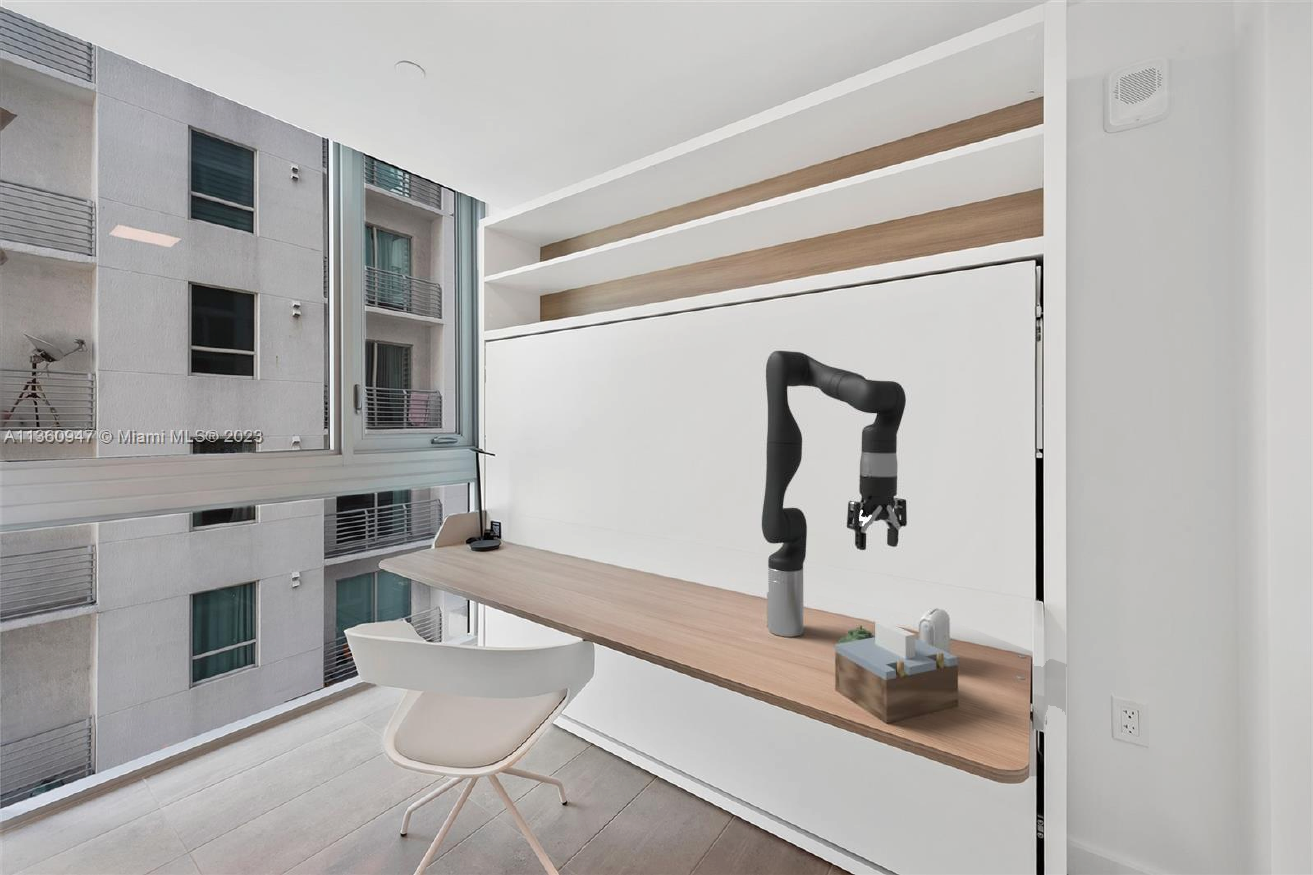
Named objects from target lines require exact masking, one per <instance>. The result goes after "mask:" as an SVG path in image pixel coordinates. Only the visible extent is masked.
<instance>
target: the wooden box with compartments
mask: <svg viewBox="0 0 1313 875" xmlns="http://www.w3.org/2000/svg"><path fill="white" fill-rule="evenodd" d="M834 652H835V651H834ZM834 658H835V659H834V660H835V661H834V662H835V663H834V665H835V667H834V668H835V669H834V670H835V674H834V678H835V680H834V682H835V683H834V684H835V688H834V689H835V691H836V692H838V693H839V694H841V695H842V696H844V697H845V698H846V699H848V700H850V701H851V702H853V703H855V704H856V705H857V706H859V707H861V708H862V709H863V710H865V712H866V711H867V712H868V713H870V714H871V715H872V716H874V717H875V718H877V719H879V720H880V721H882V722H883V723H885V724H886V725H887V724H891V723H895V722H899V721H903V720H907V719H911V718H915V717H919V716H923V715H926V714H930V713H933V712H934V713H935V712H938V711H941V710H947V709H950V708H953V707H956V706H959V664H958V665H954V666H949V667H948V666H946V665H944V654H942V653H937V662H936V669H935V670H931V671H926V672H922V673H917V674H913V675H908V674H906V673H904V662H903V661H897V670H896V678H894V679H890V680H885V679H883V678H881V677H879V676H878V675H876V674H874V673H872V672H871V671H869V670H867V669H865V668H863V667H862V666H860V665H858V664H856V663H855V662H853V661H851V660H849V659H848V658H846V657H844V656H842V655H840V654H839V653H837V652H835V657H834Z"/></svg>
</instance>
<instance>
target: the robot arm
mask: <svg viewBox="0 0 1313 875" xmlns="http://www.w3.org/2000/svg"><path fill="white" fill-rule="evenodd" d="M765 365H766V366H765V381H766V382H765V384H766V398H767V430H766V431H767V435H766V467H765V468H766V472H765V475H766V476H765V487H764V488H765V489H764V495H763V496H764V497H763V505H762V515H761V531H762V536H763V538H764V540H766V541H767V543H769V544H774V545H775V544H782V545H781V547H780V548H779V549H778V550H777V551H775V552H773V553H771V554H770V555H769V557H768V560H767V561H768V562H767V566H768V567H767V568H768V572H767V573H768V574H767V575H768V581H767V582H768V592H767V593H766V624H767V625H766V626H767V627H768V631H769V632H770V633H771V634H774V635H776V636H781V637H790V638H791V637H798V636H802V635H803V634H804V612H805V611H804V562H805V560H806V555H807V536H808V533H807V532H808V526H807V520H806V519H807V518H806V516H805V514H804V512H803V511H802V510H801V509H799V507H784V503H785V502H784V501H785V495H786V492H787V490H788V487H789V485H790V483H791V481H792V480H793V478H794V476H795V474H797V472H798V469H799V468H800V464H801V463H802V456H803V455H802V454H803V435H802V432H801V429H800V427H799V424H798V423H797V421H796V419H795V417H794V415H793V413H792V411H791V409H790V405H789V395H788V387H800V386H802V387H804V386H805V387H813V388H815V389H816V388H817V389H819V390H820V392H822V393H823V394H824V395H826V396H828V397H830V398H832V399H835V400H837V401H840V402H842V403H847V404H848V405H849V406H851V407H852V408H854V409H855V410H857V411H860V412H863V413H866V414H876V415H875V419H874V421H873V423H871V424H868V425H866V426H864V427H863V428H862V432H861V451H860V452H861V453H860V454H861V455H860V460H859V482H858V483H859V486H858V488H859V490H858V491H859V494H860V495H861V496H860V497H861V498H860V501H854V500H849V501H848V502H847V503H848V504H847V517H846V528H847V529H849V530H853V531H854V544H855V545H854V546H855V547H856V549H858V550H861V551H865V550H866V549H867V533H866V531H867V530H868V528H869V526H871V525H873V523H874V522H878V521H884V522H885V524H886V525H887V527H888V528H886V530H887V531H886V532H887V534H886V536H887V538H886V539H887V540H886V544H887V546H890V547H893V548H895V547H896V548H897V547H898V543H899V534H900V533H899V530H900V529H901V527H906V526H907V525H908V520H907V519H908V517H907V515H908V514H907V500H906V499H904V498H899V497H896V496H897V494H898V466H899V464H898V456H897V453H898V452H897V451H898V450H897V448H898V447H897V446H898V443H897V441H898V440H897V439H898V436H897V435H898V431H899V428H900V425H901V423H902V418H903V415H904V411H905V408H906V403H907V402H906V400H907V398H906V397H907V396H906V392H905V389H904V388H903V386H902V385H901V384H900V383H899V382H896V381H894V380H893V381H892V380H891V381H890V380H874V379H873V380H872V379H866V377H865V376H863V375H861V374H859V373H856V372H852V371H849V370H846V369H842V368H837V367H832V366H829V365H827V364H824V363H823V362H820V361H818V360H817V359H815V358H813V357H811V356H809V355H808V354H805V353H803V352H800V351H790V350H789V351H787V350H775V351H773V352H771V353H770V355H769V356H768V358H767V361H766V364H765Z"/></svg>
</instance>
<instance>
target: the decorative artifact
mask: <svg viewBox="0 0 1313 875" xmlns="http://www.w3.org/2000/svg"><path fill="white" fill-rule="evenodd" d="M873 637H875V635H873V633H872V632H871V631H869V630H867V629H865V628H863V626H862V625H861V624H860V625H859V626H858V627H856V629H850V630H848V631H847V634H846V636H842V637H840V639H839V640H838V644H840V643H845V642H851V641H856V640H862V639H868V638H873Z"/></svg>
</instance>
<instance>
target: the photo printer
mask: <svg viewBox="0 0 1313 875" xmlns="http://www.w3.org/2000/svg"><path fill="white" fill-rule="evenodd" d="M950 623H951V622H950V616H949V614H948V612H947V611H946V610H945V609H940V608H938V607H935V608H932V609H929V610H927V611H926V612H924V614H923V615H922V616H921V618H920V620H919V623H918V640H920V641H922V642H925V643H927V644H929V645H931V646H934V647H936V648H938V649H941V650H943V651H945V652H947V653H950V654H951V652H950V651H951V649H950V648H951V643H950V641H951V639H950V638H951V631H950V628H951V627H950V626H951V625H950Z"/></svg>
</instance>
